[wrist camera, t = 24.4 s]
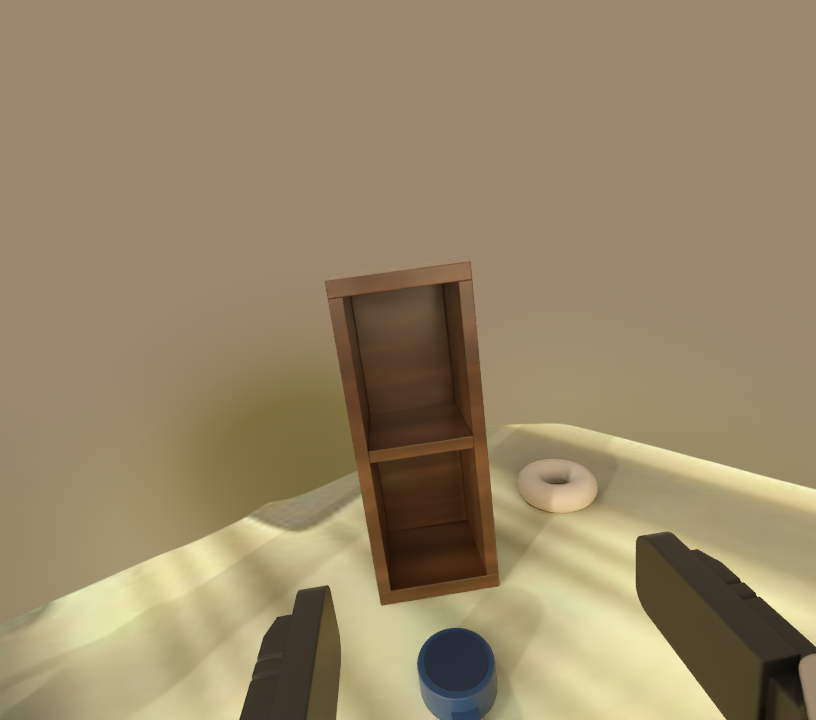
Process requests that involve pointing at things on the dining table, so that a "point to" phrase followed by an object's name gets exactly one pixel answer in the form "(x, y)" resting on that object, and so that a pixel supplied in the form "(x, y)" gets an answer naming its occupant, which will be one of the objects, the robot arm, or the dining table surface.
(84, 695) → the dining table surface
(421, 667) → the blue elongated piece
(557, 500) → the donut
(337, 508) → the dining table surface
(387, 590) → the shelf
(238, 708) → the dining table surface
